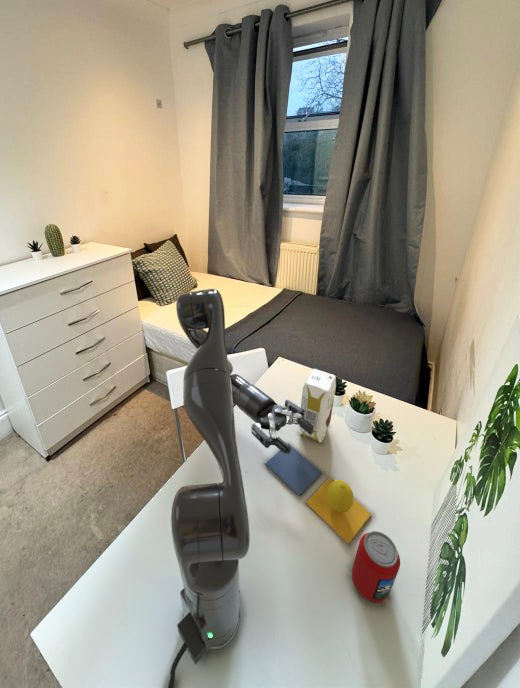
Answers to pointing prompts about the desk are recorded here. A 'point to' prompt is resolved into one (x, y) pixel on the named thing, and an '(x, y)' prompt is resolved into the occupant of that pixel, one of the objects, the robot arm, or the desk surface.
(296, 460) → the slate mat
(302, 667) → the desk surface
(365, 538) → the beverage can
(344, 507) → the lemon
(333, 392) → the juice carton
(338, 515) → the mustard mat
